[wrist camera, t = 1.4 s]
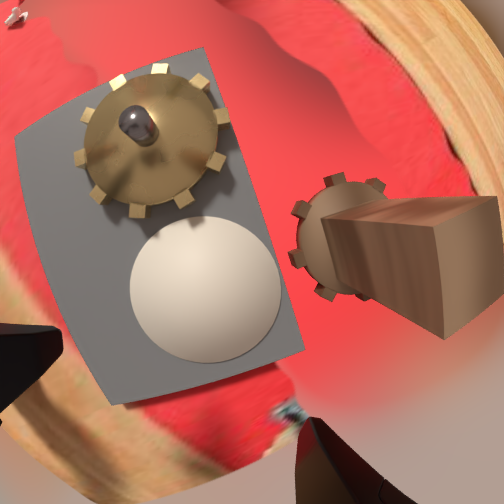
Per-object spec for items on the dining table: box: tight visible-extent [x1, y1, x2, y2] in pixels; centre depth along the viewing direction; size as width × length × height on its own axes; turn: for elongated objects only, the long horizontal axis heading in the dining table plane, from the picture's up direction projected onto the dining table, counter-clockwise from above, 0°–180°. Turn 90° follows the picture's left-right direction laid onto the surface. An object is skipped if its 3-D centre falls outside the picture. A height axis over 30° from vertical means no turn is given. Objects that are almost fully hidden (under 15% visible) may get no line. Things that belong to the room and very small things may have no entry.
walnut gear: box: [288, 172, 504, 340], centre depth 15 cm, size 9×9×12 cm
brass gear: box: [74, 64, 230, 218], centre depth 14 cm, size 10×10×4 cm
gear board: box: [14, 47, 305, 405], centre depth 18 cm, size 16×23×2 cm
